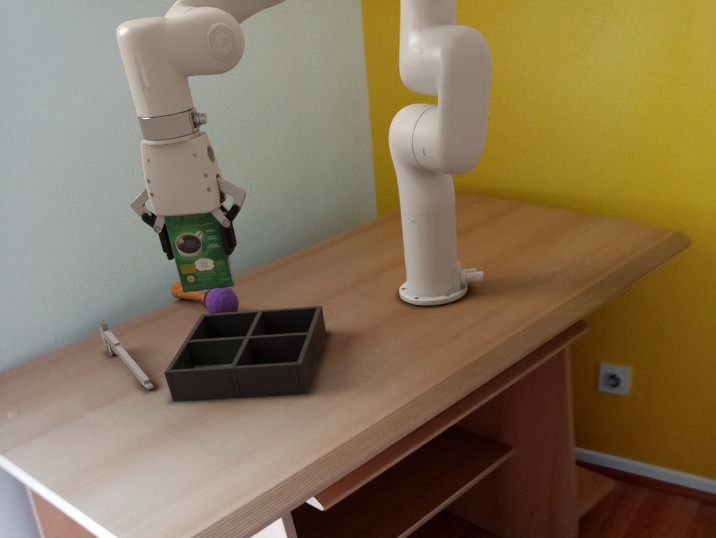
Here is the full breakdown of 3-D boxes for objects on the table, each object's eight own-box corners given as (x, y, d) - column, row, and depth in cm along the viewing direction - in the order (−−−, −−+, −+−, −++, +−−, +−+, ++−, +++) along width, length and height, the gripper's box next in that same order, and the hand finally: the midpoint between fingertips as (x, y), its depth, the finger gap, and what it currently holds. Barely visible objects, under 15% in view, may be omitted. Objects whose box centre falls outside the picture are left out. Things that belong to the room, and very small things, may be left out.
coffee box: (237, 280, 117) (217, 191, 109) (235, 287, 114) (214, 197, 107) (185, 287, 117) (161, 199, 109) (183, 294, 115) (158, 205, 107)
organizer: (326, 332, 133) (321, 305, 130) (307, 393, 116) (301, 364, 113) (208, 340, 135) (201, 314, 132) (172, 401, 119) (163, 372, 116)
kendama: (189, 272, 153) (242, 286, 139) (193, 302, 156) (246, 318, 142) (162, 276, 150) (214, 291, 136) (166, 307, 152) (218, 324, 139)
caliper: (107, 352, 136) (95, 319, 132) (112, 350, 137) (101, 317, 133) (148, 391, 122) (137, 356, 118) (155, 389, 123) (143, 353, 119)
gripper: (238, 113, 104) (263, 241, 114) (118, 126, 106) (154, 250, 117) (225, 126, 98) (253, 259, 108) (98, 139, 100) (137, 268, 111)
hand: (201, 254), depth 113 cm, fingers closed on coffee box, 8 cm apart
